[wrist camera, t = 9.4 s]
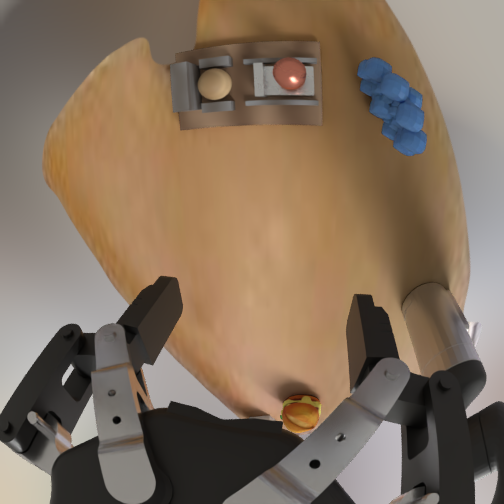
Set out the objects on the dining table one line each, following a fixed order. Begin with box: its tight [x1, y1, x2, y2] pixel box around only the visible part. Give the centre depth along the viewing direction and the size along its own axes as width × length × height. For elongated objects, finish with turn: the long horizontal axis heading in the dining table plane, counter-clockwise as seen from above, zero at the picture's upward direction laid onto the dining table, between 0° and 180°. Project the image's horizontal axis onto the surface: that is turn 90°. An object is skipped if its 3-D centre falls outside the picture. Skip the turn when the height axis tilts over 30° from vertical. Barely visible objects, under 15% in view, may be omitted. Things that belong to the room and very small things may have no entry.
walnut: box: [198, 68, 232, 100], centre depth 27 cm, size 4×4×4 cm
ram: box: [253, 57, 314, 97], centre depth 24 cm, size 6×4×8 cm, turn 93°
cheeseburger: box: [280, 395, 322, 433], centre depth 57 cm, size 10×11×10 cm
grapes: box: [357, 57, 427, 156], centre depth 23 cm, size 12×7×12 cm, turn 28°
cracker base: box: [170, 41, 322, 130], centre depth 27 cm, size 18×11×6 cm, turn 93°
